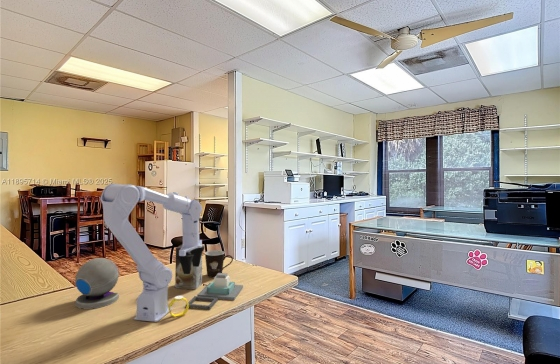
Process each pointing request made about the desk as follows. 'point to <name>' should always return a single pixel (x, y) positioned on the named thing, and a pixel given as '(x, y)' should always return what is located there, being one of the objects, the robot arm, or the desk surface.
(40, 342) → the desk surface
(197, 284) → the coffee box
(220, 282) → the plug
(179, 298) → the watch
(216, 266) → the coffee mug
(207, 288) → the dock
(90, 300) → the webcam
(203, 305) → the tray
